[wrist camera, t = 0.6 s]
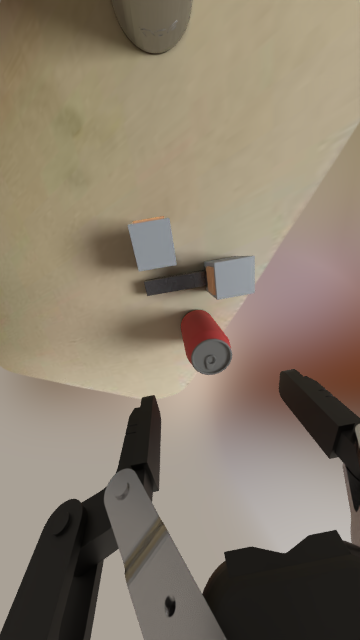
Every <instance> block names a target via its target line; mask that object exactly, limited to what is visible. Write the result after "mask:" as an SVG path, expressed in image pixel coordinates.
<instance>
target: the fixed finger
mask: <svg viewBox="0 0 360 640" xmlns="http://www.w3.org/2000/svg"><path fill="white" fill-rule="evenodd" d="M204 267H206V273H207V283H208V286H206V288H207V291H208V292H209V293H210V294H211V295H212V296H214V297H215V298H216V299H217V300H218V299H224V298H229V297H235V296H241V295H246V294H252V293H254V292H255V291H254V290H255V262H254V256H234V257H229V258H223V259H217V260H212V261H206V262H204Z"/></svg>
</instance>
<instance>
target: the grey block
mask: <svg viewBox="0 0 360 640" xmlns="http://www.w3.org/2000/svg"><path fill="white" fill-rule="evenodd" d="M128 229H129V233H130V237H131V241H132V245H133V249H134V253H135V258H136V262H137V266H138V270H139V271H145V270H151V269H156V268H162V267H168V266H173V265H177V263H176V257H175V250H174V244H173V238H172V232H171V226H170V219H169V218H165V219H164V216H161V217H155V218H149V219H143V220H138V221H133V224H130V225H128Z"/></svg>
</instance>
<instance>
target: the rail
mask: <svg viewBox="0 0 360 640" xmlns="http://www.w3.org/2000/svg"><path fill="white" fill-rule="evenodd" d="M144 283H145V288H146V292H147V296H150V295H155V294H161V293H167V292H172V291H178V290H184V289H189V288H195V287H201V286H206V285H208V283H207V273H206V270H202V271H196V272H191V273H185V274H179V275H174V276H168V277H162V278H157V279H151V280H146V281H145V282H144Z"/></svg>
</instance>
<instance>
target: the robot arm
mask: <svg viewBox="0 0 360 640" xmlns="http://www.w3.org/2000/svg"><path fill="white" fill-rule="evenodd" d="M111 1H112V5H113V8H114V11H115V14H116V17H117V20H118V22H119V24H120V26H121V28H122V30H123V31H124V32H125V34H126V35H127V37H128V38H129V39H130V40H131V41H132V42H133V43H134V44H135V45H136V46H137V47H139V48H140V49H142V50H144V51H146V52H150V53H162V52H165V51H168V50H169V49H171V48H172V47H174V46H175V45H176V44H177V42H178V41H179V40H180V39H181V37H182V35H183V33H184V32H185V30H186V27H187V24H188V21H189V18H190V13H191V7H192V0H111ZM279 393H280V396H281V398H282V399H283V401H284V402H285V403H286V405H287V406H288V407H289V408H290V410H291V411H292V412H293V414H294V415H295V416H296V417H297V418H298V420H299V421H300V422H301V424H302V425H303V426H304V427H305V429H306V430H307V431H308V432H309V434H310V435H311V436H312V437H313V439H314V440H315V441H316V442H317V444H318V445H319V446H320V447H321V449H322V450H323V451H324V453H325V454H326V455H327V456H328V458H329V459H331V458H336V457H339V458H340V459H341V460H342V462H343V472H344V477H345V483H346V488H347V494H348V500H349V505H350V511H351V540H352V543H349V542H346V541H343V540H342V539H341V537H340V535H339V534H338V532H337V531H336V530H333V531H329V532H324V533H318V534H313V535H309V536H307V537H306V538H305V539H304V540H302V541H301V542H300V543H299V544H297V545H296V546H295V547H294V548H292V549H291V550H290V551H289V552H287V553H279V552H274V551H269V550H265V549H260V548H256V547H247V548H242V549H237V550H232V551H227V552H224V554H225V559H226V561H224V562H223V563H222V564H221V565H220V566H219V567H218V568H217V569H216V570H215V571H214V572H213V574H212V575H211V577H210V578H209V580H208V582H207V584H206V587H205V588H204V591H203V594H202V593H201V591H200V590H199V588H198V586H197V584H196V582H195V580H194V579H193V577H192V575H191V573H190V571H189V569H188V567H187V565H186V564H185V562H184V560H183V558H182V556H181V555H180V553H179V551H178V549H177V547H176V545H175V543H174V542H173V540H172V538H171V536H170V534H169V532H168V531H167V529H166V527H165V525H164V524H163V522H162V520H161V519H160V517H159V515H158V513H157V511H156V509H155V508H154V506H153V504H152V495H153V492H156V491H159V472H160V440H161V417H160V411H159V408H158V404H157V401H156V398H155V395H153V396H147V397H143V398H142V400H141V406H140V407H139V408H135V409H134V410H133V412H132V413H131V415H130V417H129V421H128V425H127V429H126V436H125V438H124V443H123V448H122V452H121V456H120V460H119V465H118V469H117V472H116V474H115V475H114V476H113V477H112V479H111V480H110V482H109V483H108V485H107V487H105V488H104V489H103V490H102V491H100V492H99V493H97V494H96V495H94V496H92V497H90V498H89V499H87V500H85V501H84V502H82V503H81V502H80V501H79V500H77V499H71V500H68V501H66V502H64V503H63V504H61V505H60V506H59V507H58V508H57V509H56V510H55V511H54V512H53V514H52V515H51V516H50V518H49V519H48V521H47V523H46V524H45V526H44V529H43V531H42V533H41V536H40V539H39V541H38V543H37V545H36V548H35V550H34V553H33V555H32V558H31V560H30V563H29V565H28V567H27V570H26V572H25V575H24V577H23V580H22V582H21V585H20V587H19V589H18V592H17V594H16V597H15V599H14V602H13V604H12V607H11V609H10V611H9V614H8V616H7V619H6V621H5V624H4V626H3V628H2V631H1V634H0V640H90V638H91V631H92V625H93V620H94V614H95V608H96V602H97V596H98V590H99V584H100V578H101V573H102V567H103V560H104V559H105V558H106V557H108V556H109V555H110V554H112V553H113V552H115V551H116V550H117V549H119V550H120V553H121V556H122V559H123V563H124V567H125V578H126V583H127V586H128V589H129V593H130V596H131V599H132V603H133V606H134V609H135V612H136V615H137V619H138V622H139V625H140V628H141V631H142V634H143V638H144V640H360V418H359V417H358V416H357V415H356V414H354V413H353V412H352V411H351V410H350V409H348V408H347V407H346V406H345V405H344V404H343V403H341V402H340V401H339V400H338V399H337V398H335V397H333V395H332V394H331V393H330V392H328V391H327V390H325V388H324V387H323V386H321V385H320V384H319V383H318V382H317V381H315V380H313V379H311V378H309V377H307V376H304V377H303V376H302V375H301V374H300V373H299V372H298V371H297V370H295V369H292V370H287V371H282V372H281V373H280V382H279Z"/></svg>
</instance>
